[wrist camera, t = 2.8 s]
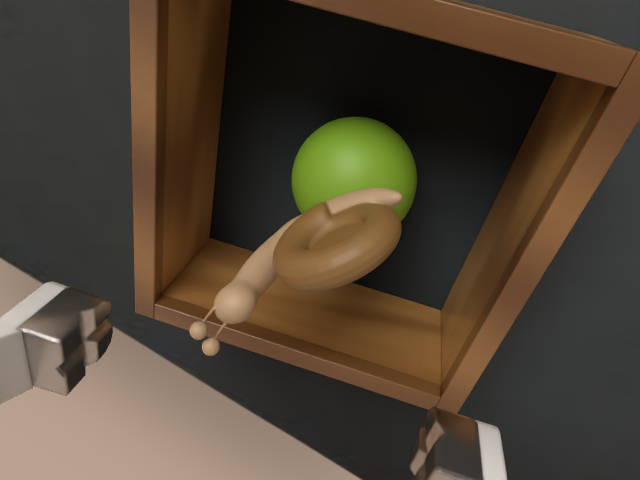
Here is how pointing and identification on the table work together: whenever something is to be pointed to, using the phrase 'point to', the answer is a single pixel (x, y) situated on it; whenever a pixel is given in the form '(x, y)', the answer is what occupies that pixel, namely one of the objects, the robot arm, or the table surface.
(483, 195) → the table surface
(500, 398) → the table surface
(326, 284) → the snail figurine
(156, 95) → the open wooden box
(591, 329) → the table surface
